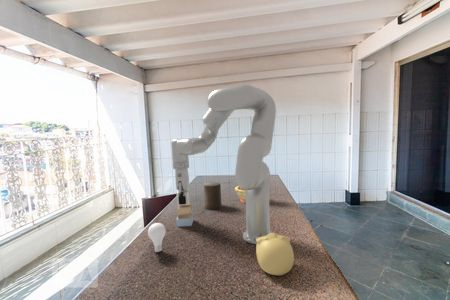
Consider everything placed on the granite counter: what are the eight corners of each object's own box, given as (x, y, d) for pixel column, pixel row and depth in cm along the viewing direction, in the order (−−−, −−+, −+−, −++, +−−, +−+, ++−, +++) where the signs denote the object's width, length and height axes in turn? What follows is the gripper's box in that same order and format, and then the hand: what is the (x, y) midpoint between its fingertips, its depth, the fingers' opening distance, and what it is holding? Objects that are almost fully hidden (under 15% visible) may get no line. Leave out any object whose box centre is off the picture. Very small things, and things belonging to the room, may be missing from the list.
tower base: (191, 226, 109) (191, 218, 108) (176, 227, 109) (176, 219, 108) (193, 220, 116) (193, 212, 115) (179, 221, 116) (179, 213, 115)
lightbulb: (160, 245, 92) (158, 218, 90) (170, 250, 87) (168, 222, 86) (146, 252, 87) (143, 224, 86) (156, 258, 83) (153, 228, 82)
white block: (187, 204, 109) (187, 192, 108) (177, 205, 109) (176, 192, 108) (189, 201, 114) (188, 189, 113) (179, 201, 113) (178, 190, 113)
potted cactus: (259, 196, 149) (258, 158, 147) (261, 204, 134) (259, 161, 131) (235, 197, 151) (234, 159, 148) (234, 204, 135) (232, 162, 133)
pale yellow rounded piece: (287, 256, 80) (286, 226, 79) (299, 279, 68) (299, 244, 67) (254, 258, 79) (253, 228, 78) (260, 281, 67) (259, 246, 66)
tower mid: (190, 217, 109) (190, 207, 108) (178, 218, 108) (177, 208, 108) (191, 213, 115) (191, 203, 114) (179, 214, 114) (179, 204, 114)
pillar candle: (219, 209, 128) (218, 183, 127) (202, 209, 130) (201, 183, 129) (223, 204, 138) (222, 179, 136) (207, 204, 140) (206, 179, 138)
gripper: (186, 167, 101) (188, 208, 103) (191, 161, 118) (193, 196, 119) (168, 168, 101) (171, 208, 102) (176, 162, 118) (178, 197, 119)
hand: (183, 201), depth 111 cm, fingers closed on white block, 5 cm apart
